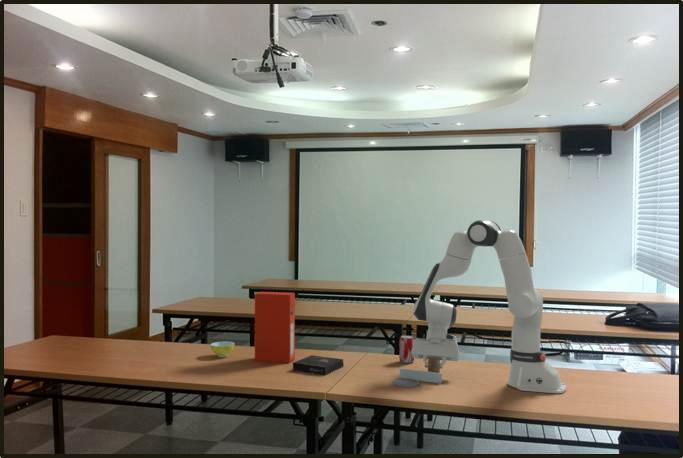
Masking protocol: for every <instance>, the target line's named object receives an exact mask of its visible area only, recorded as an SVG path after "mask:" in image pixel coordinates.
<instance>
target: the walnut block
mask: <svg viewBox="0 0 683 458" xmlns="http://www.w3.org/2000/svg"><path fill="white" fill-rule="evenodd" d="M427 362H428V368H427V372H435V373H441V372H440V371H441V370H440V368H439V363H441V360H440V359H433V358H429V359H427Z"/></svg>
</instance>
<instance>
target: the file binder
mask: <svg viewBox="0 0 683 458" xmlns="http://www.w3.org/2000/svg"><path fill="white" fill-rule="evenodd" d="M295 294H296V293H295V292H278V291H276V292H275V291H259V292H256V293H254V361H255V362H263V363H264V362H266V363H268V362H269V363H279V364H280V363H282V364H283V363H284V364H291V363H293V362H294V360H295V358H296V357H295V355H296V354H295V353H296V352H295V351H296V349H295V348H296V347H295V345H296V343H295V341H296V338H295V337H296V336H295V335H296V333H295V331H296V330H295V329H296V325H295V324H296V321H295V320H296V319H295V318H296V316H295V315H296V314H295V313H296V312H295V311H296V309H295V305H296V304H295V303H296V302H295V301H296V295H295Z"/></svg>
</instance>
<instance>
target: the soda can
mask: <svg viewBox="0 0 683 458" xmlns="http://www.w3.org/2000/svg"><path fill="white" fill-rule="evenodd" d="M413 340H415V339H414V336H412V335H400V338H399V342H398V343H399V345H398V347H399V348H398V350H399V352H398V355H399V357H398V358H399V359H398V360H399V362H400V363H403V364H412V363H413V362H414V361H415V358H413V357H412V354H411V351H412V347H413V346H412V342H413Z"/></svg>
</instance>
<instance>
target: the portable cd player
mask: <svg viewBox="0 0 683 458" xmlns="http://www.w3.org/2000/svg"><path fill="white" fill-rule="evenodd" d="M343 367H344V359H343V358H337V357H329V356H321V355H320V356H319V355H313V354H311V355H309V356H307V357H304V358H301V359H299V360H296V361H292V371H294V372H300V373H306V374H312V373H313V374H314V375H319V374H320V376H327V375H330V374H331V372H332V373H334V372H335V370H336V371H337V370H340V369H342V368H343ZM333 371H334V372H333Z"/></svg>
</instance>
